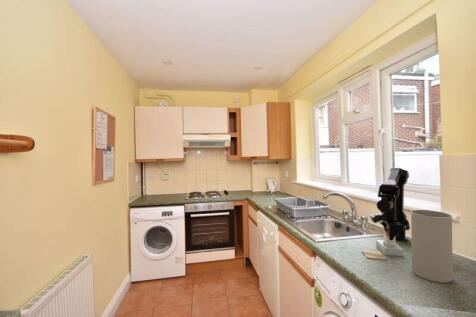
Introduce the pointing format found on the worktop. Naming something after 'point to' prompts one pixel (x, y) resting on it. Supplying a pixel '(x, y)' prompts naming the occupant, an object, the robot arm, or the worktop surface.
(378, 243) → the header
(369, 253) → the mat
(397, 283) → the worktop surface
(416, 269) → the cylinder vase
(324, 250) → the worktop surface
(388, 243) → the plug
